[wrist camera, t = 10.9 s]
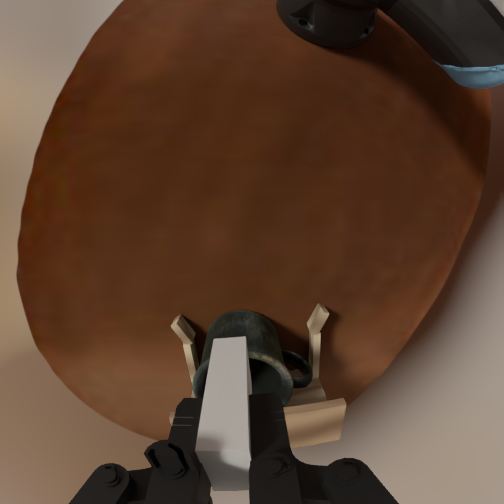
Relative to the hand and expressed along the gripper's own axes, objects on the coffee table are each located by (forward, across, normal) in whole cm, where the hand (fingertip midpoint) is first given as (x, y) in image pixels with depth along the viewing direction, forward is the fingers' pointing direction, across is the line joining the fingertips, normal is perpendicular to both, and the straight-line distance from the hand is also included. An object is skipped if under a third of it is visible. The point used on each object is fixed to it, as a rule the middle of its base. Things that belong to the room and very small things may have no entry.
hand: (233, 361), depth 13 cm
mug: (+25, +1, -14) cm, 28 cm away
